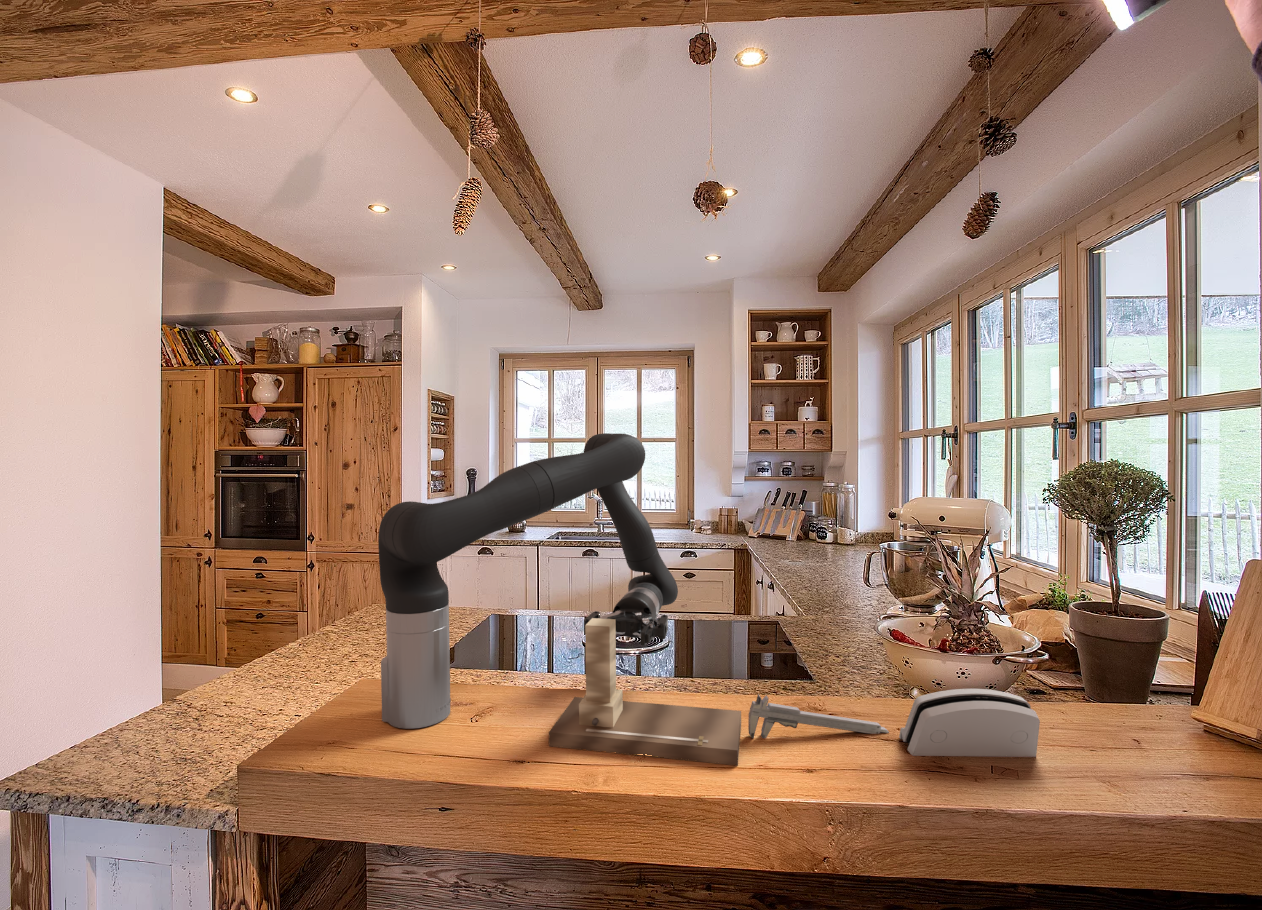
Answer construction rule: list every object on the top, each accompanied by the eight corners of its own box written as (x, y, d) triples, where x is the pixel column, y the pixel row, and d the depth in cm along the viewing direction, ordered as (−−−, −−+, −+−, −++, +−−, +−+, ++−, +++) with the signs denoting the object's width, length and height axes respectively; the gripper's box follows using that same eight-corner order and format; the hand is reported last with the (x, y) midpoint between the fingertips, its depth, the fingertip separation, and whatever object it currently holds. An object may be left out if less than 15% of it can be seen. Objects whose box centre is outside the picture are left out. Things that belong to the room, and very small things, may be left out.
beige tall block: (577, 726, 88) (576, 628, 87) (590, 706, 94) (589, 615, 94) (611, 730, 87) (611, 630, 86) (622, 709, 93) (621, 617, 93)
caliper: (750, 740, 88) (750, 697, 88) (748, 737, 89) (748, 694, 89) (889, 735, 89) (889, 692, 89) (885, 731, 90) (885, 689, 90)
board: (549, 746, 86) (548, 731, 86) (574, 709, 98) (574, 696, 98) (737, 765, 81) (737, 749, 81) (741, 724, 92) (741, 710, 92)
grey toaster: (1016, 738, 87) (1031, 681, 84) (1035, 766, 83) (1052, 707, 79) (896, 737, 88) (905, 681, 84) (909, 765, 83) (920, 706, 80)
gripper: (600, 589, 118) (575, 612, 102) (674, 593, 115) (660, 617, 99) (600, 628, 118) (575, 658, 102) (674, 633, 115) (660, 663, 99)
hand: (617, 638), depth 101 cm, fingers open, 8 cm apart
